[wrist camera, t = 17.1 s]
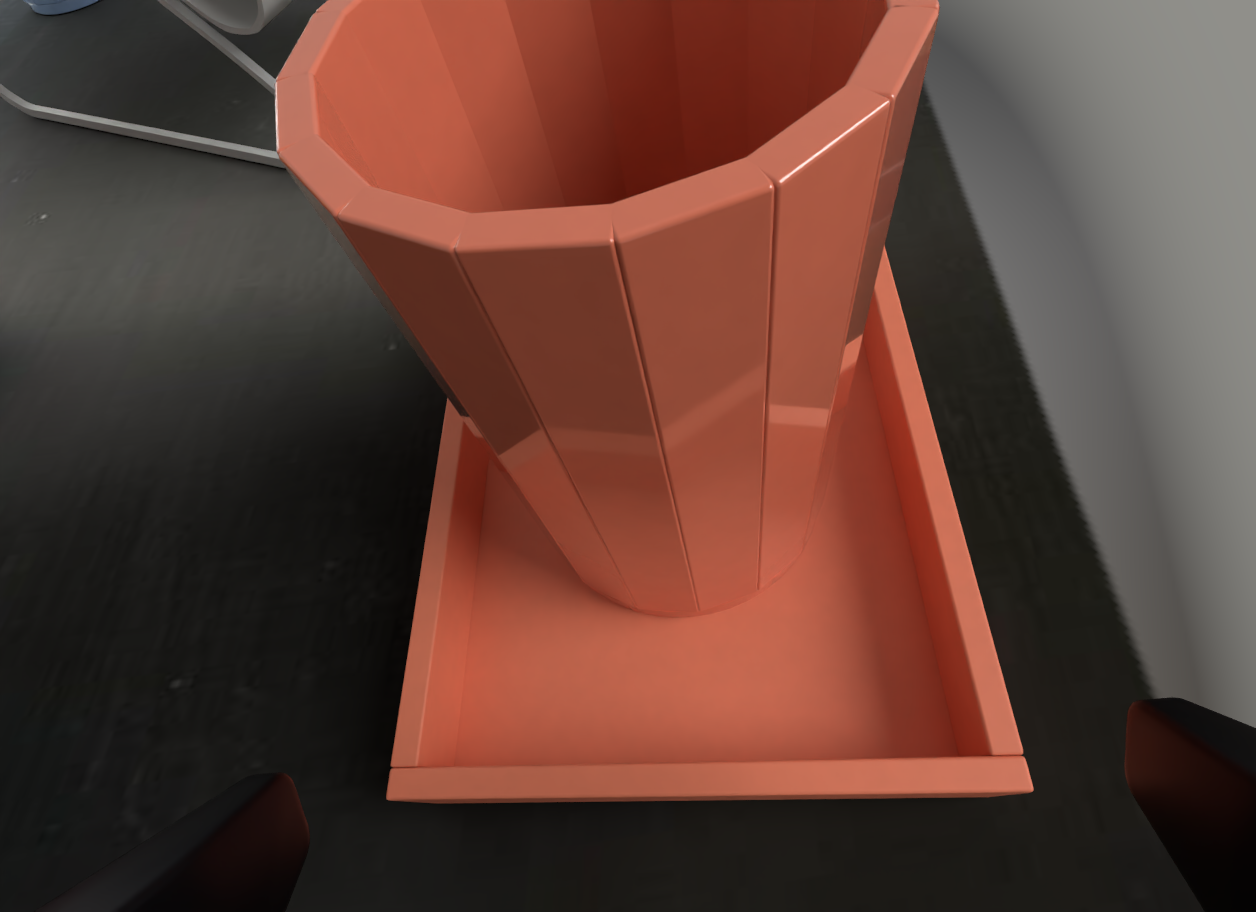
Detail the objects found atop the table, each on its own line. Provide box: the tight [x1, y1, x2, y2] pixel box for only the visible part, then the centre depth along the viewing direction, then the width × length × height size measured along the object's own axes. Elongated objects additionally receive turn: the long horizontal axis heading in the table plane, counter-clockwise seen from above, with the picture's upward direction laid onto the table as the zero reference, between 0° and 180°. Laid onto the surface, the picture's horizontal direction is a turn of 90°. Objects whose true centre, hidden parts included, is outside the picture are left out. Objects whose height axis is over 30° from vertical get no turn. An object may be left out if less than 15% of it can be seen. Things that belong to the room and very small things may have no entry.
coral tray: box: [386, 246, 1033, 803], centre depth 17 cm, size 15×12×2 cm
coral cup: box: [274, 0, 940, 617], centre depth 13 cm, size 7×7×12 cm
